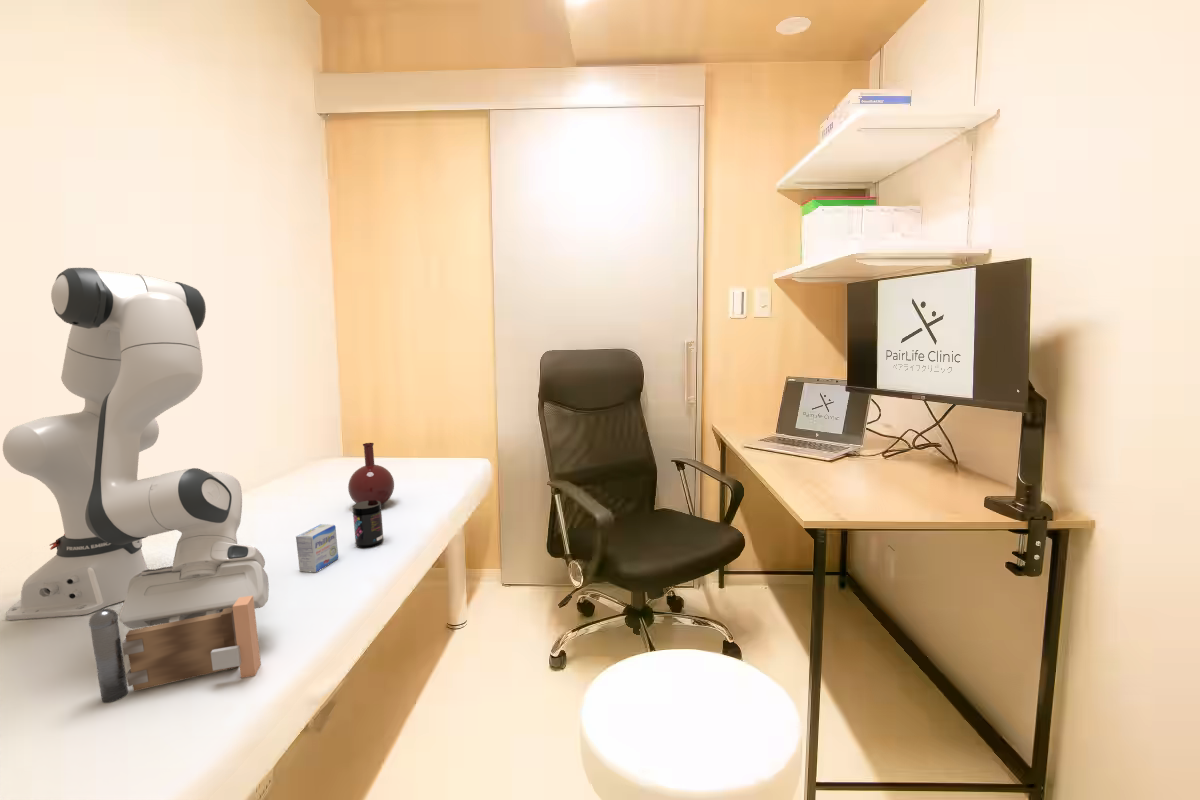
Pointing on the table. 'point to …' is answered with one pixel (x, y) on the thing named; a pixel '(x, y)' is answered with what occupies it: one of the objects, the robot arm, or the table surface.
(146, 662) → the gate
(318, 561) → the medicine box
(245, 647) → the latch post
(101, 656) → the hinge post
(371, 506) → the supplement container
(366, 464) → the round-bottom flask
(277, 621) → the table surface
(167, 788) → the table surface
